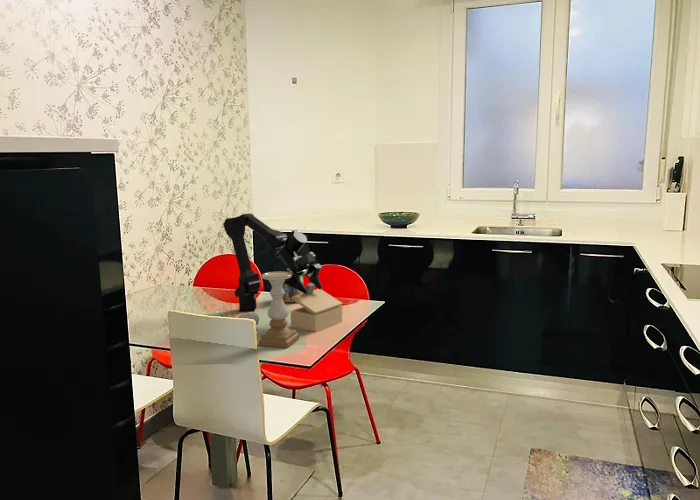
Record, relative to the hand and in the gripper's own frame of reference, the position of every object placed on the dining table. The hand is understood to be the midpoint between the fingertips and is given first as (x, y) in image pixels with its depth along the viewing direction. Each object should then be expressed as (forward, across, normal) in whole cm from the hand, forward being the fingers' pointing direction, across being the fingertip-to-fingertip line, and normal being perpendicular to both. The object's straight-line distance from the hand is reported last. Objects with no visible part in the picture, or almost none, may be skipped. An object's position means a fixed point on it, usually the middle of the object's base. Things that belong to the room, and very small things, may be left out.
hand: (313, 290), depth 216 cm
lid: (+4, 0, +2) cm, 4 cm away
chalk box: (-13, +22, +32) cm, 41 cm away
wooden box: (+10, 0, +8) cm, 13 cm away
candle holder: (+12, -24, +6) cm, 28 cm away
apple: (-1, -20, +19) cm, 28 cm away
